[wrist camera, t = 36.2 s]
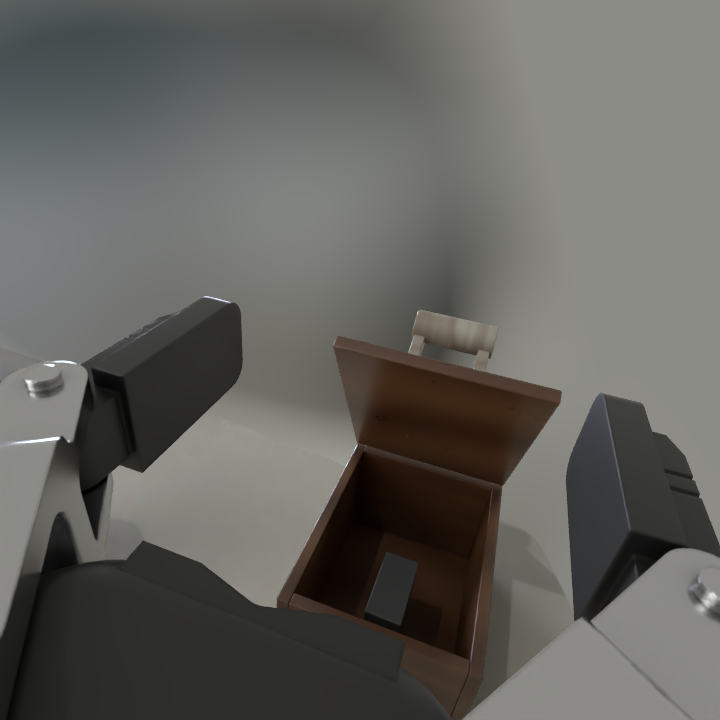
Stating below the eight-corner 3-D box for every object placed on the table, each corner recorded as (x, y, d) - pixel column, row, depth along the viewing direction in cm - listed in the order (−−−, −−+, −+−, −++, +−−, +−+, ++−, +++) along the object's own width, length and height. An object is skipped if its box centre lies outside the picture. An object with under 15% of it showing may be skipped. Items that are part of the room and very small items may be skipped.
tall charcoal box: (404, 623, 38) (420, 559, 34) (384, 689, 34) (400, 625, 30) (375, 611, 38) (388, 547, 34) (353, 675, 34) (364, 610, 30)
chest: (448, 754, 31) (483, 679, 26) (275, 679, 34) (276, 598, 29) (476, 561, 44) (502, 485, 39) (348, 518, 47) (357, 442, 42)
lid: (560, 403, 25) (573, 321, 27) (332, 346, 27) (361, 275, 30) (503, 486, 39) (514, 427, 41) (356, 443, 42) (375, 390, 44)
